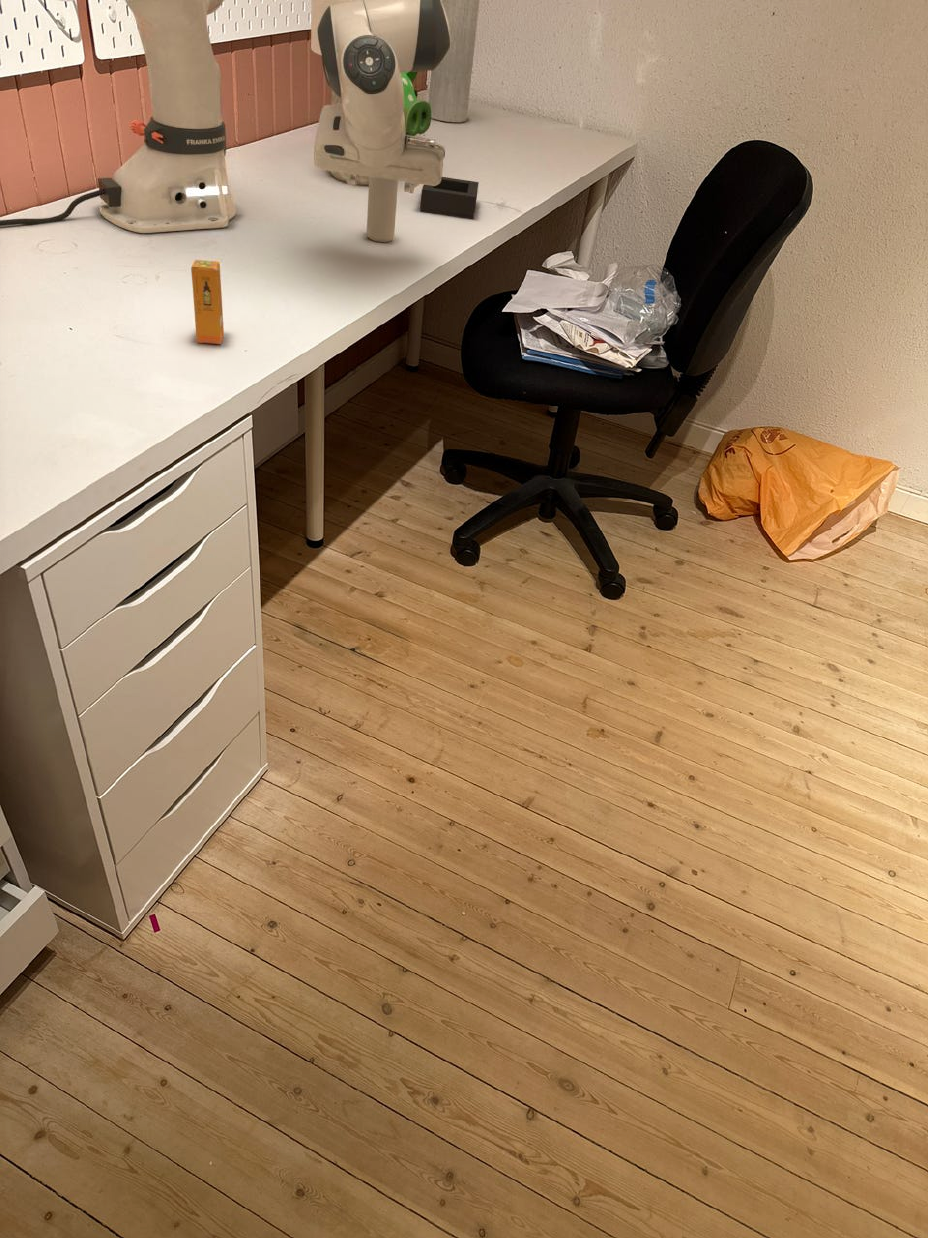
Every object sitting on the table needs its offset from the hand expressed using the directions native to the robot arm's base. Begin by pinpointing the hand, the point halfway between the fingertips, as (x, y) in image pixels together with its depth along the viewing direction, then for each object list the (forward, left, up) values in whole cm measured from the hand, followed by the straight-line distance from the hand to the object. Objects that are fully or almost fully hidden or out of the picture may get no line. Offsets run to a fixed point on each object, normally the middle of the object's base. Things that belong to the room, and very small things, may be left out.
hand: (381, 184), depth 151 cm
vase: (+77, +65, -10) cm, 101 cm away
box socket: (+27, +11, -10) cm, 30 cm away
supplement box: (-44, -18, -10) cm, 49 cm away
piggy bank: (+46, +53, -10) cm, 70 cm away
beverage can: (+3, +3, -10) cm, 11 cm away
